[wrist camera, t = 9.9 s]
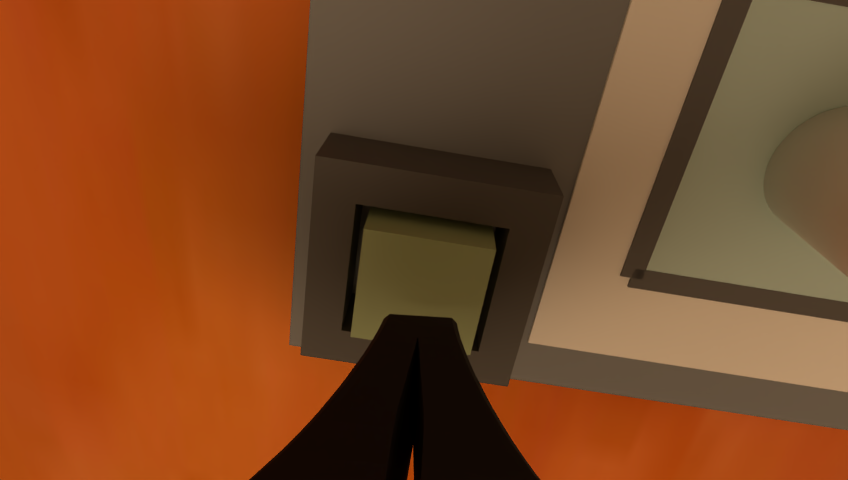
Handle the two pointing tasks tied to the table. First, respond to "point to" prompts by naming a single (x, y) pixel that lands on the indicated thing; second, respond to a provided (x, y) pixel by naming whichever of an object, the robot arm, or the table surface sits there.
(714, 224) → the colouring board
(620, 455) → the table surface
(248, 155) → the table surface
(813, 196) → the marker
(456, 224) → the button
